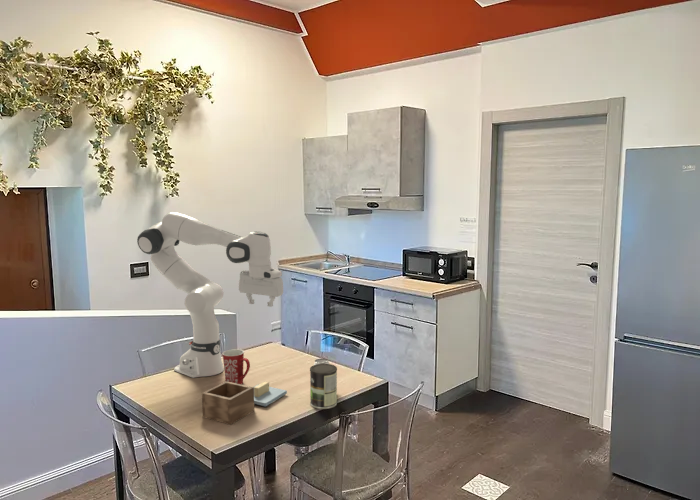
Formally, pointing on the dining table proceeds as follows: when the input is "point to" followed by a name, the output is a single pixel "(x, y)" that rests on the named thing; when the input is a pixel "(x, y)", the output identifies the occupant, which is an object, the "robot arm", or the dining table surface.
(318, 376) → the coffee can
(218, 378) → the dining table surface
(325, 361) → the can
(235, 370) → the mug
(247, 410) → the box
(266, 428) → the dining table surface
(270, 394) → the lid
